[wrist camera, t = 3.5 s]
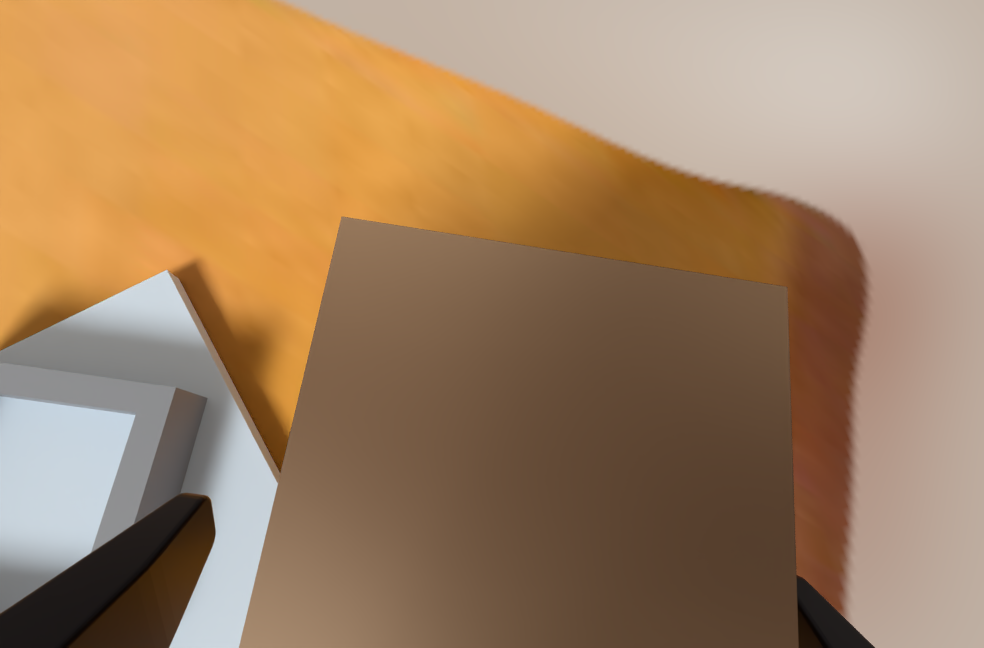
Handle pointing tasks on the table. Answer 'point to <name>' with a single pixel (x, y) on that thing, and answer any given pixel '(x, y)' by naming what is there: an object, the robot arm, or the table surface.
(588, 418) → the pillar
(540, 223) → the table surface
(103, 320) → the baseplate
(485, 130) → the table surface
